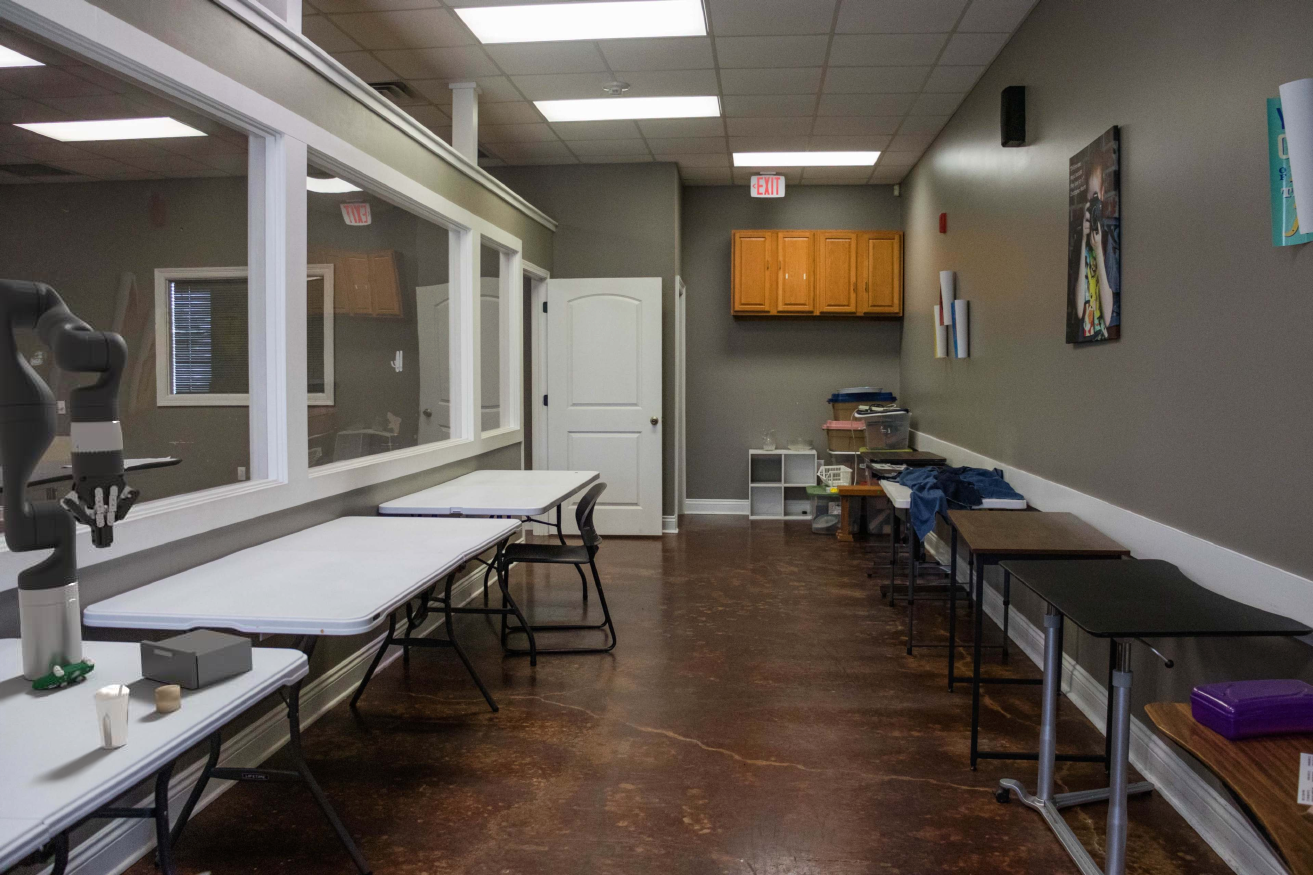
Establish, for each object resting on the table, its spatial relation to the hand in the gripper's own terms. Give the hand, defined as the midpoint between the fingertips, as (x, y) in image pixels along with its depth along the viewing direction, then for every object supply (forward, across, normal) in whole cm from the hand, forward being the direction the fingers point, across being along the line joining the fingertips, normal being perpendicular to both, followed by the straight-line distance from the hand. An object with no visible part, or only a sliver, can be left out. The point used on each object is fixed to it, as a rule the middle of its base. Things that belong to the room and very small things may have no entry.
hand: (103, 547), depth 146 cm
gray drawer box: (+27, +15, -2) cm, 31 cm away
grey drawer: (+27, +14, -2) cm, 30 cm away
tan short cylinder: (+27, +2, -14) cm, 30 cm away
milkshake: (+27, -11, -20) cm, 36 cm away
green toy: (+27, +1, +16) cm, 32 cm away
